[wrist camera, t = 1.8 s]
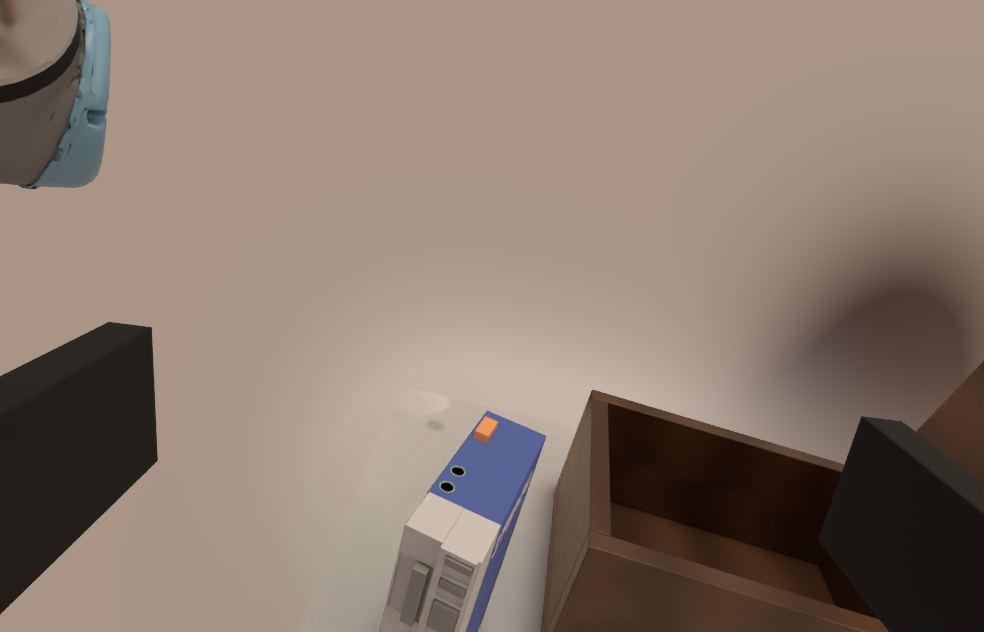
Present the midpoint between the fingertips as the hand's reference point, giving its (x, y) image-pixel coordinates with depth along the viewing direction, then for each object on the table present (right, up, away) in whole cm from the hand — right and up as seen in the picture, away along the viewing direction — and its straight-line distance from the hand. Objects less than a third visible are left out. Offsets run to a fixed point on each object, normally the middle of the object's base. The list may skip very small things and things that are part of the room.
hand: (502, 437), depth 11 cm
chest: (+12, -14, +23) cm, 29 cm away
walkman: (-3, -14, +16) cm, 21 cm away
